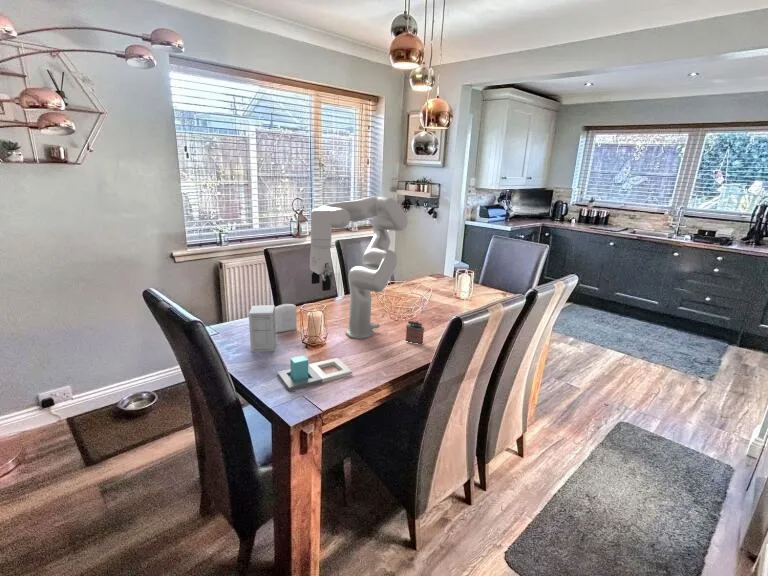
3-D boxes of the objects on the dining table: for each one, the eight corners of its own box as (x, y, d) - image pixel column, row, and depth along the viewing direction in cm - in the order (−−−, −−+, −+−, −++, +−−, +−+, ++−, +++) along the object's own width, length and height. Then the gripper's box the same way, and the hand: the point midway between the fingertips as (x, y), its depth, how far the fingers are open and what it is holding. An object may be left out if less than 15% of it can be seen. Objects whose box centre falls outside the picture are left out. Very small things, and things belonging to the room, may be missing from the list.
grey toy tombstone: (294, 326, 186) (294, 301, 182) (298, 329, 182) (297, 304, 179) (273, 330, 180) (272, 304, 177) (276, 333, 177) (275, 307, 173)
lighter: (423, 342, 176) (425, 321, 173) (422, 345, 173) (423, 324, 170) (406, 339, 178) (407, 318, 175) (404, 342, 175) (405, 321, 172)
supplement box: (276, 342, 169) (275, 304, 164) (275, 351, 160) (273, 312, 155) (253, 342, 167) (251, 304, 162) (250, 352, 158) (248, 312, 153)
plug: (303, 375, 144) (303, 355, 141) (308, 380, 140) (308, 359, 138) (290, 378, 141) (290, 358, 139) (294, 383, 138) (294, 362, 135)
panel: (337, 361, 155) (337, 357, 155) (352, 374, 146) (352, 371, 145) (277, 375, 142) (277, 371, 142) (289, 391, 133) (289, 387, 132)
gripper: (302, 239, 152) (302, 282, 157) (321, 247, 139) (321, 294, 144) (320, 238, 156) (320, 280, 161) (340, 246, 143) (339, 291, 148)
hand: (320, 286), depth 152 cm, fingers open, 9 cm apart
